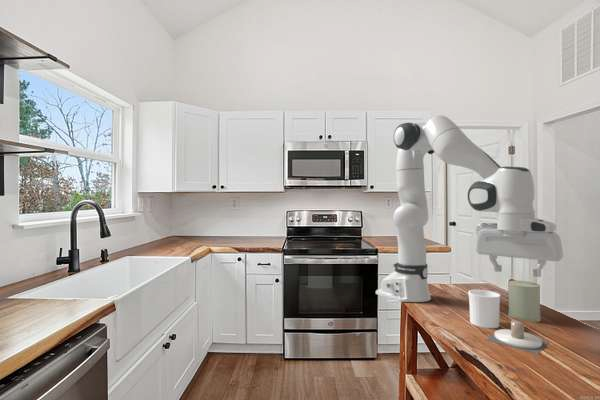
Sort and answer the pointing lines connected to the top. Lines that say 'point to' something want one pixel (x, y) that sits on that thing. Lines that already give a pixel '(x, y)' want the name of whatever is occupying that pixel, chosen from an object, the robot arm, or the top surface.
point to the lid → (518, 337)
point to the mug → (484, 308)
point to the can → (524, 300)
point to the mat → (535, 351)
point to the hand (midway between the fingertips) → (516, 273)
